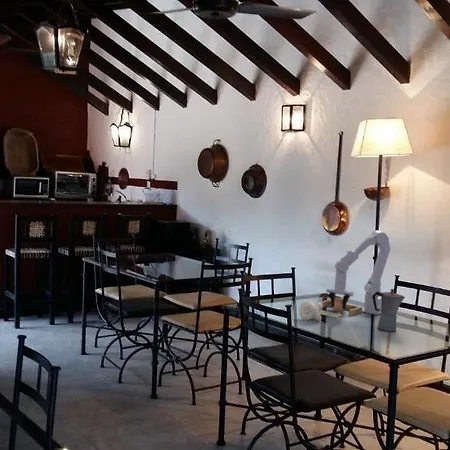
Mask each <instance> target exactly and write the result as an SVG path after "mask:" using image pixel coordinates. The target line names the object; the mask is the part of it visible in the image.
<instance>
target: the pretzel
mask: <svg viewBox="0 0 450 450" xmlns="http://www.w3.org/2000/svg"><path fill="white" fill-rule="evenodd" d="M318 302H319V303H318ZM318 302H316V303H317V304H316V303H314V302H313V301H312V300H305V301H303V302H302V303H301V305H300V307H299V311H298V312H299V316H300V318H301V319H302V320H303V321H310V320H312V319H315V321H316V322H321V320H322V316H321V315H322V314H320V311H321V310H322V309H323V308H324V307H323V304H322V303H320V302H321V301H318Z"/></svg>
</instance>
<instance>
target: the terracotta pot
mask: <svg viewBox="0 0 450 450" xmlns="http://www.w3.org/2000/svg"><path fill="white" fill-rule="evenodd" d="M333 311H334V312H336V313H342V312H343V311H344V309H343V297H335V298H334V307H333Z"/></svg>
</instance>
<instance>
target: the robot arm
mask: <svg viewBox="0 0 450 450" xmlns="http://www.w3.org/2000/svg"><path fill="white" fill-rule="evenodd" d="M389 240H390V239H389V237H388V235H387V234H386V232H383V231H380V230H373V231H372V232H371V233H370V234H369V235H367V237H366V238H365V239H364V240H363V241H362V242H361V243H360V244H359V245H358V246H356V248H355V249H354V250H353V249H351V250H350V251H349V250H348V251H347V252H346V254H345V255H344V256H343V257H341V258H340V260H337V261H336V263H335V265H334V267H335V269H336V271H335V277H334V278H335V280H334V288H326V291H325V292H326V293H327V294H328V297H329V299H330V301H331V303H332V308H334V298H336V295H341V296H342V298H343V310H344V309H345V306H346V304H348V301H349V300H350V297H354V292H353V291H348V290H346V285H347V273H348V272H347V271H349V267H351V265H352V264H353V263H355V262H356V261H357V260H358V259H359V255H360V254H361V253H363V251H365V250H367V248H368V247H370V246H373V245H376V246H377V247H378V249H379V251H378V254H377V257H376V260H375V263H374V266H373V269H372V273H371V275H370V277H369V278H368V281H367V282H366V283H365V285H364V287H363V288H364V291H365V294H364V303H363V305H364V306H363V309H362V313H366V314H372V315H376V316H378V315H381V313H382V312H381V310H382V308H381V298H382V297H381V296H378V295H376V296H375V299H376V306H377V309H380V311H376V310H375V307H374V302H373V298H372V296H373V295H374V294H375V293H376V292H381V287H382V286H381V285H382V282H381V279H382V276H383V274H384V270H385V268H386V265H387V261H388V259H389V255H390V251H391V245H390V241H389Z"/></svg>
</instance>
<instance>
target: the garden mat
mask: <svg viewBox="0 0 450 450" xmlns="http://www.w3.org/2000/svg"><path fill="white" fill-rule="evenodd" d="M320 315H322V316H326V317H330V318H338V317H342V316H343V314H341V313H338V312H331V311H327V310H321V311H320Z"/></svg>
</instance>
